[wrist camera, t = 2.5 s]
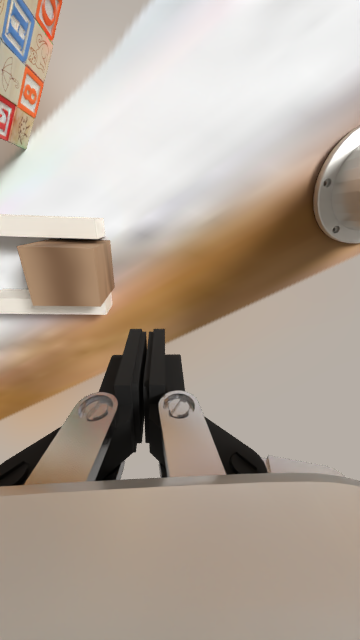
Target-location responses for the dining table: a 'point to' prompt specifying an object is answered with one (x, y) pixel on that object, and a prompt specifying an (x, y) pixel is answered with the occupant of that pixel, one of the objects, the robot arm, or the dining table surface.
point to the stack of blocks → (24, 63)
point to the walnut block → (68, 271)
